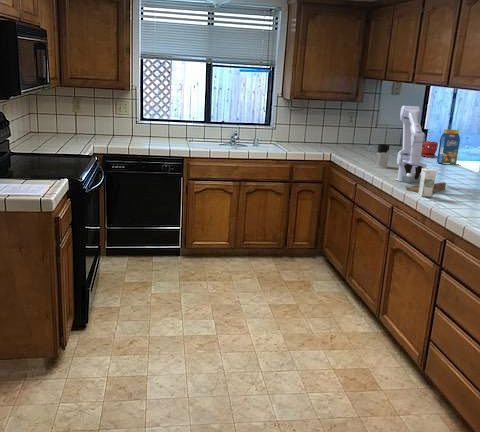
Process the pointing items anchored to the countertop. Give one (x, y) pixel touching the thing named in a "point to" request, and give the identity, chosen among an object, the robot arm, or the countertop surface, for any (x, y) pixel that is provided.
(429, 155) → the plant pot
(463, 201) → the countertop surface
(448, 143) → the blue food package
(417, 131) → the robot arm
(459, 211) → the countertop surface
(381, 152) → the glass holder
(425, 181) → the syrup box
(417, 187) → the shelf
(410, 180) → the tray
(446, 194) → the countertop surface
